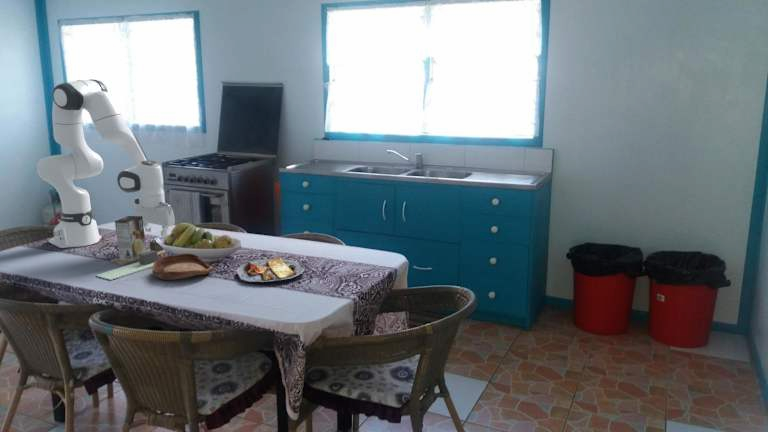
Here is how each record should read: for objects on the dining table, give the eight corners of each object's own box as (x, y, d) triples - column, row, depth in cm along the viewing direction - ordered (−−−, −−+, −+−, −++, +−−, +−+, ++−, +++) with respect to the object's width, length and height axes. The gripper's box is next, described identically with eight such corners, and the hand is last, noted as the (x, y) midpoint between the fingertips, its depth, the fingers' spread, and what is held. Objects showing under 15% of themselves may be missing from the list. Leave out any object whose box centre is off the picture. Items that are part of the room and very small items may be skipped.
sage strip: (95, 276, 222) (94, 264, 221) (148, 260, 241) (146, 249, 239) (111, 280, 217) (109, 268, 216) (163, 263, 236) (162, 252, 235)
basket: (223, 275, 223) (222, 262, 222) (171, 289, 209) (170, 275, 208) (192, 262, 238) (191, 249, 237) (142, 274, 225) (141, 261, 223)
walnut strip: (110, 261, 239) (108, 250, 238) (157, 247, 257) (156, 237, 256) (124, 265, 234) (123, 254, 233) (172, 250, 253) (171, 240, 252)
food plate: (231, 268, 229) (231, 259, 228) (292, 260, 238) (292, 252, 237) (244, 291, 207) (244, 281, 206) (310, 282, 216) (310, 272, 215)
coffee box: (133, 253, 247) (128, 215, 243) (147, 254, 246) (143, 216, 242) (119, 260, 239) (114, 220, 235) (133, 261, 237) (129, 221, 233)
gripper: (177, 202, 245) (179, 235, 249) (143, 196, 255) (146, 228, 259) (164, 205, 240) (167, 239, 244) (130, 199, 250) (133, 231, 254)
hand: (156, 233), depth 251 cm, fingers open, 8 cm apart
